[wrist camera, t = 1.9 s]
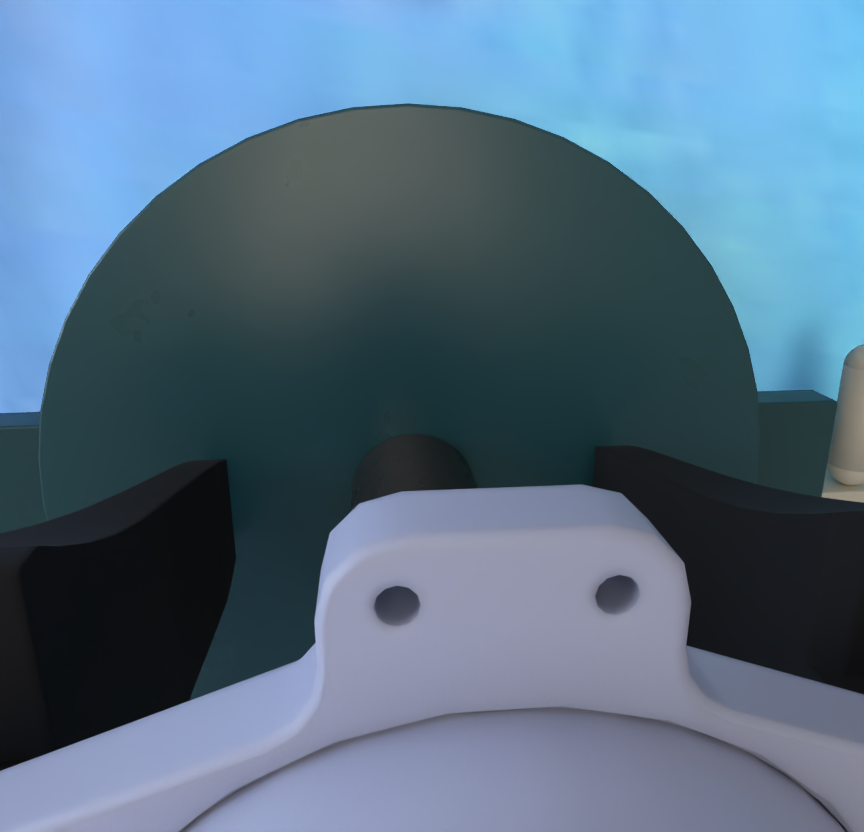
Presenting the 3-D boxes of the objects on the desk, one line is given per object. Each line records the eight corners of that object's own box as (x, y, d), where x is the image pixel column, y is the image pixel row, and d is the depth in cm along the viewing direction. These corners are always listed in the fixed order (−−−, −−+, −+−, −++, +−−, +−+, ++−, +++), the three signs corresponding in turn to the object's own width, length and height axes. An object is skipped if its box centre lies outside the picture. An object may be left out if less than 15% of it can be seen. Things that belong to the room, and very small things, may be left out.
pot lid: (698, 723, 18) (795, 883, 14) (113, 762, 17) (31, 946, 13) (777, 109, 14) (951, 78, 10) (0, 109, 13) (-177, 73, 9)
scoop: (833, 573, 23) (909, 637, 20) (699, 579, 23) (754, 645, 20) (879, 321, 21) (975, 346, 18) (730, 324, 20) (799, 351, 17)
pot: (698, 590, 23) (804, 721, 17) (91, 621, 22) (-7, 774, 16) (752, 145, 19) (911, 130, 13) (9, 147, 18) (-158, 131, 12)
